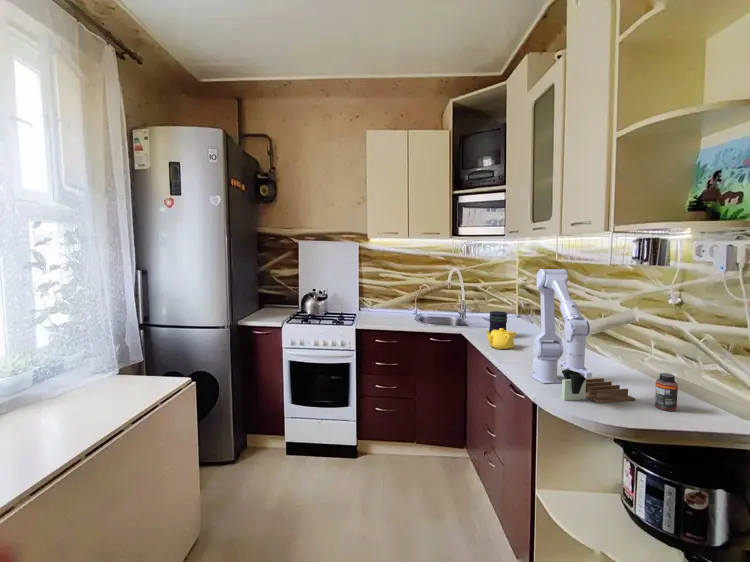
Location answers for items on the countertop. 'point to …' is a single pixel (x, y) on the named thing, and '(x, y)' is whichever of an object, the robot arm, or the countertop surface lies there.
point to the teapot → (501, 338)
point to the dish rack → (605, 391)
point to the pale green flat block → (568, 393)
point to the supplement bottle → (666, 392)
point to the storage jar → (497, 320)
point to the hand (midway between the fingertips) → (573, 392)
